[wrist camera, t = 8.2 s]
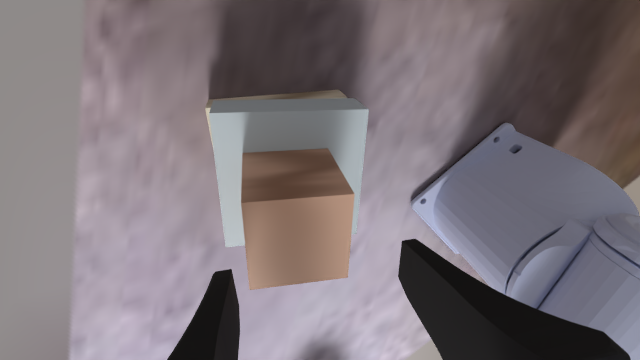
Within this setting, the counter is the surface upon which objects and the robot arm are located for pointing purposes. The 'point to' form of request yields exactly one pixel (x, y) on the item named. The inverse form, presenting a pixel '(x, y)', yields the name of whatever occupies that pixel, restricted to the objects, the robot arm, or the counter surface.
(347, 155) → the tower top
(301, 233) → the block
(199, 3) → the counter surface
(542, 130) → the counter surface
